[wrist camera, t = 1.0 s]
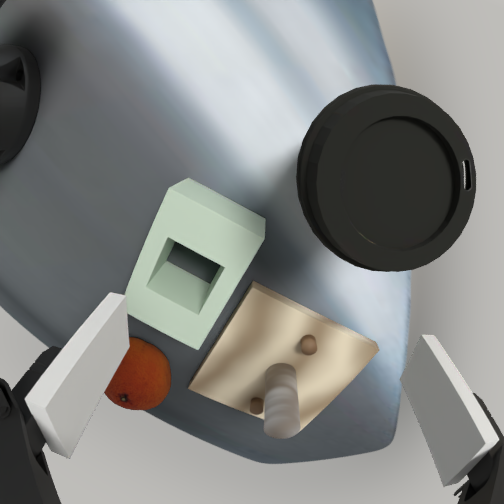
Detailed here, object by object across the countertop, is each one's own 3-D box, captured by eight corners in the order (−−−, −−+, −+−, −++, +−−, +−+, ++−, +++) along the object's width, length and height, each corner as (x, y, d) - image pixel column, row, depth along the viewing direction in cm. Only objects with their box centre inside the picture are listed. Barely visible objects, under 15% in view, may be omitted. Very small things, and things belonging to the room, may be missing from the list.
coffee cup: (272, 117, 26) (276, 93, 12) (377, 100, 25) (470, 76, 11) (296, 223, 29) (320, 303, 15) (395, 203, 28) (486, 261, 14)
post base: (190, 380, 37) (173, 439, 28) (253, 280, 31) (246, 336, 22) (299, 423, 39) (302, 479, 30) (375, 342, 33) (401, 399, 24)
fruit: (175, 329, 34) (154, 376, 27) (179, 385, 37) (163, 432, 30) (105, 318, 34) (73, 358, 27) (116, 373, 37) (93, 415, 30)
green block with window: (208, 316, 33) (198, 350, 27) (142, 280, 32) (119, 308, 26) (265, 218, 29) (264, 238, 24) (188, 177, 28) (169, 187, 23)
